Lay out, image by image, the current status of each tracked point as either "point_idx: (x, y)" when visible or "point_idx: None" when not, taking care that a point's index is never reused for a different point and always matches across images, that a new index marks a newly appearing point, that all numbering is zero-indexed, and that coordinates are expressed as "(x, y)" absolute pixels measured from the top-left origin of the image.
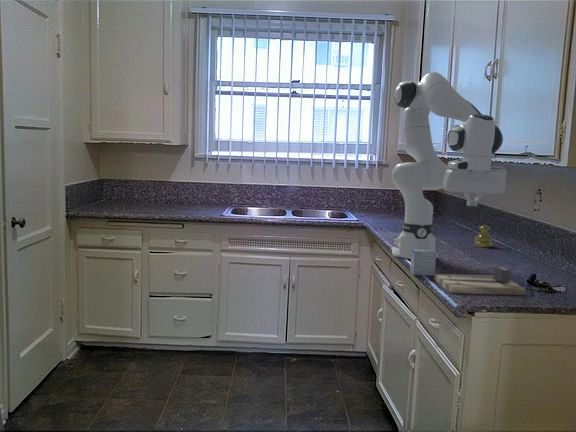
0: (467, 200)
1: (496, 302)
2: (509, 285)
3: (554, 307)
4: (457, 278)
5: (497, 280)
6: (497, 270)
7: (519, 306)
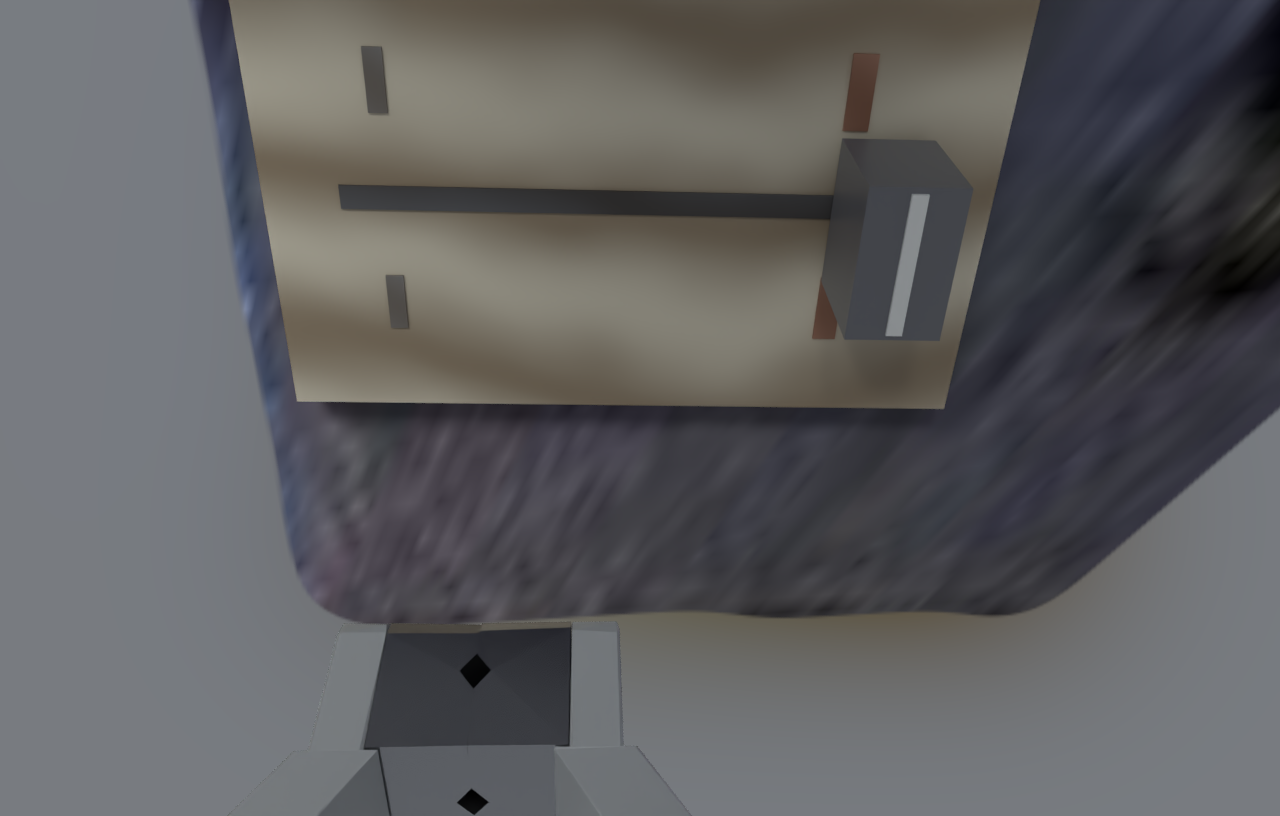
0: (315, 765)
1: (592, 548)
2: None
3: (940, 605)
4: (445, 124)
5: None
6: (853, 237)
7: (711, 604)
